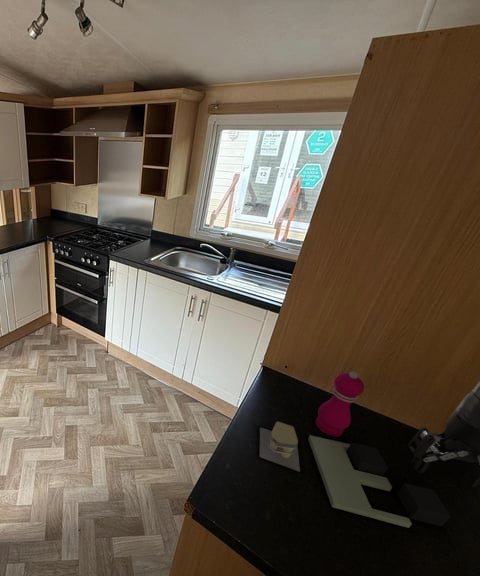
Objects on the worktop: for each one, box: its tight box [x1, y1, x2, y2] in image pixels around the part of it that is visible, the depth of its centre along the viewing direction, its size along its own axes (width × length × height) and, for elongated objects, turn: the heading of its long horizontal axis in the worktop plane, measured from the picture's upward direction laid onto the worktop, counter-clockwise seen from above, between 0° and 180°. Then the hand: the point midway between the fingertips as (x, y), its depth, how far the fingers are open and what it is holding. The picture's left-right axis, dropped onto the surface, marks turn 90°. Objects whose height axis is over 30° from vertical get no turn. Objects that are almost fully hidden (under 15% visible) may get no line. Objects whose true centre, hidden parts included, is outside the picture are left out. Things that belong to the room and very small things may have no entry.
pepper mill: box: [315, 371, 365, 438], centre depth 83 cm, size 7×7×20 cm
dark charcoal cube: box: [346, 442, 389, 477], centre depth 77 cm, size 5×5×4 cm
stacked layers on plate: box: [259, 421, 301, 473], centre depth 80 cm, size 10×9×6 cm
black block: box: [396, 482, 452, 528], centre depth 67 cm, size 5×5×4 cm
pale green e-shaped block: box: [307, 434, 413, 529], centre depth 74 cm, size 14×18×2 cm
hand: (441, 475), depth 64 cm, fingers open, 8 cm apart
